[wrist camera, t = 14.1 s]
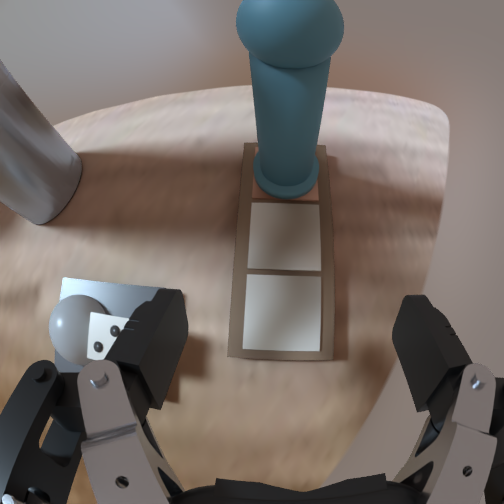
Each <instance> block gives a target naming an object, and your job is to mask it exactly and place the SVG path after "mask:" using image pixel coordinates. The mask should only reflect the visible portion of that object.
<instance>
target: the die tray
mask: <svg viewBox="0 0 504 504" xmlns="http://www.w3.org/2000/svg"><path fill="white" fill-rule="evenodd" d="M158 289H160V287H148V286H137V285H126V284H116V283H107V282H98V281H89V280H80V279H72V278H64V277H63V282H62V288H61V295H60V302H59V303H58V304H57V305H56V306H55V308H54V310H53V311H52V314H51V316H50V321H49V333H50V337H51V340H52V343H53V345H54V347H55V366H56V368H57V369H58V371H59V372H80V371H81V370H82V368H83V367H84V366H86V365H87V364H88V363H90V362H93V361H96V360H103V359H104V358H105V356H106V355H107V353H108V351H109V350H110V348H111V346H112V345H113V343H114V342H115V340H116V338H117V337H118V335H119V334H120V332H121V330H122V329H124V326H125V324H126V322H127V321H129V318H130V316H131V315H132V313H133V312H134V310H135V309H136V308H137V307H138V306H140V305H141V304H142V303H144V302H145V301H151V300H152V299H153V297H154V296H155V294H156V292H157V291H158ZM165 289H166V288H165Z"/></svg>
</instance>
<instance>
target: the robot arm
mask: <svg viewBox="0 0 504 504" xmlns="http://www.w3.org/2000/svg"><path fill="white" fill-rule="evenodd" d="M81 171H82V164H81V160H80V157H79V156H78V155H77V154H76V153H75V152H74V151H73V149H72V148H71V147H70V146H69V145H68V144H67V143H66V141H65V140H64V139H63V138H62V137H61V135H60V134H59V133H58V132H57V131H56V130H55V128H54V127H53V126H52V125H51V124H50V123H49V121H48V120H47V119H46V118H45V117H44V115H43V114H42V113H41V112H40V111H39V109H38V108H37V107H36V106H35V105H34V103H33V102H32V101H31V99H30V98H29V97H28V96H27V95H26V93H25V92H24V91H23V89H22V88H21V87H20V85H19V84H18V83H17V81H15V79H14V78H13V76H12V75H11V73H10V72H9V71H8V70H7V68H6V67H5V66H4V64H3V63H2V61H1V60H0V202H2V203H3V204H5V205H6V206H8V207H9V208H10V209H12V210H13V211H15V212H16V213H18V214H19V215H21V216H22V217H24V218H25V219H27V220H29V221H30V222H32V223H34V224H43V223H46V222H48V221H50V220H51V219H53V218H54V217H55V216H56V215H57V214H59V213H60V211H61V210H62V209H63V208H64V207H65V206H66V204H67V203H68V202H69V200H70V199H71V197H72V195H73V193H74V192H75V190H76V188H77V185H78V183H79V180H80V176H81ZM187 336H188V320H187V315H186V310H185V305H184V299H183V294H182V292H181V290H178V289H165V288H160V289H158V291H157V292H156V294H155V296H154V297H153V299H152V300H151V301H145V302H144V303H142V304H141V305H140V306H138V307H137V308H136V309H135V310H134V312H133V313H132V315H131V316H130V318H129V321H127V322H126V324H125V326H124V329H122V330H121V332H120V334H119V335H118V337H117V338H116V340H115V342H114V343H113V345H112V346H111V348H110V350H109V351H108V353H107V355H106V356H105V358H104V359H103V360H96V361H93V362H90V363H88V364H87V365H86V366H84V367H83V368H82V370H81V371H80V372H59V371H58V369H57V368H56V366H55V365H54V363H52V362H51V361H48V360H41V361H37V362H35V363H34V364H32V365H31V366H30V367H29V368H28V369H27V370H26V372H25V373H24V375H23V377H22V378H21V380H20V381H19V383H18V385H17V386H16V388H15V390H14V391H13V393H12V395H11V397H10V398H9V400H8V402H7V404H6V405H5V407H4V409H3V411H2V413H1V415H0V504H66V503H67V499H68V496H69V493H70V490H71V486H72V483H73V480H74V477H75V474H76V471H77V468H78V465H79V462H80V459H81V457H82V455H83V459H84V463H85V466H86V470H87V473H88V476H89V480H90V483H91V486H92V489H93V492H94V495H95V498H96V500H97V503H98V504H479V502H480V500H481V497H482V494H483V492H484V493H485V501H486V504H504V378H495V377H494V375H493V373H492V372H491V371H490V370H489V369H488V368H487V367H486V366H484V365H482V364H478V363H472V361H471V359H470V357H469V355H468V354H467V352H466V350H465V348H464V346H463V345H462V343H461V341H460V340H459V338H458V336H457V335H456V333H455V331H454V329H453V328H452V327H451V325H450V323H449V321H448V320H447V318H446V317H445V316H444V315H443V314H442V313H441V312H440V311H439V310H438V309H436V308H434V307H433V306H432V304H431V303H430V301H429V300H428V298H427V297H426V296H425V295H407V296H405V297H404V299H403V301H402V304H401V307H400V310H399V313H398V316H397V319H396V321H395V324H394V327H393V331H392V340H393V344H394V347H395V349H396V352H397V355H398V357H399V360H400V363H401V365H402V368H403V371H404V374H405V377H406V379H407V382H408V385H409V388H410V391H411V394H412V397H413V401H414V404H415V407H416V410H417V412H421V411H425V410H429V412H430V415H429V416H428V418H427V420H426V422H425V424H424V427H423V429H422V431H421V434H420V436H419V439H418V441H417V443H416V445H415V447H414V449H413V451H412V453H411V455H410V457H409V459H408V461H407V463H406V464H405V465H404V467H403V468H402V469H401V470H400V471H399V472H398V474H397V475H396V477H395V478H394V480H393V481H386V476H385V473H383V474H378V475H372V476H367V477H361V478H354V479H347V480H344V481H341V482H338V483H335V484H332V485H329V486H326V487H322V488H319V489H315V490H312V491H308V492H299V491H293V490H289V489H284V488H280V487H275V486H271V485H267V484H263V483H260V482H246V481H235V480H226V479H218V478H216V483H215V485H210V486H203V487H198V488H194V489H190V490H187V491H185V490H184V488H183V486H182V484H181V483H180V481H179V479H178V478H177V476H176V474H175V473H174V471H173V470H172V468H171V467H170V465H169V464H168V462H167V460H166V458H165V456H164V454H163V452H162V450H161V448H160V446H159V444H158V441H157V439H156V437H155V435H154V432H153V430H152V428H151V426H150V423H149V421H148V418H147V417H146V415H147V413H148V410H149V408H154V409H158V410H161V408H162V405H163V402H164V399H165V396H166V394H167V391H168V388H169V385H170V383H171V380H172V377H173V374H174V372H175V369H176V366H177V364H178V361H179V358H180V356H181V353H182V350H183V348H184V345H185V342H186V340H187ZM50 416H51V417H52V418H53V422H52V424H51V426H50V428H49V430H48V433H47V435H46V437H45V439H44V442H43V444H42V446H41V448H39V439H40V437H41V434H42V432H43V430H44V428H45V426H46V423H47V421H48V419H49V417H50Z"/></svg>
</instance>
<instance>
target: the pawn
mask: <svg viewBox="0 0 504 504" xmlns="http://www.w3.org/2000/svg"><path fill="white" fill-rule="evenodd" d="M236 27H237V32H238V35H239V38H240V40H241V41H242V43H243V45H244V46H245V48H247V50H248V51H249V59H250V68H251V78H252V87H253V97H254V107H255V117H256V128H257V138H258V149H259V151H258V152H257V154H256V156H255V158H254V161H253V170H254V177H255V180H256V183H257V185H258V186H259V187H260V188H261V189H262V191H264V192H265V193H266V194H268V195H270V196H272V197H275V198H278V199H285V200H287V199H296V198H299V197H302V196H304V195H306V194H307V193H308V192H310V191H311V190H312V188H313V187H314V186H315V184H316V181H317V177H318V173H319V162H318V159H317V157H316V155H315V152H316V146H317V141H318V135H319V130H320V124H321V118H322V112H323V106H324V100H325V94H326V87H327V80H328V74H329V67H330V60H331V57H330V56H332V54H333V53H334V52H335V51H336V50H337V48H338V47H339V45H340V43H341V41H342V38H343V34H344V22H343V17H342V14H341V12H340V9H339V7H338V6H337V4H336V3H335V1H334V0H243V1H242V3H241V5H240V6H239V9H238V12H237V17H236Z"/></svg>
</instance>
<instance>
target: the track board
mask: <svg viewBox="0 0 504 504" xmlns="http://www.w3.org/2000/svg"><path fill="white" fill-rule="evenodd" d="M258 151H259V149H258V143H244V152H243V163H242V173H241V184H240V195H239V207H238V218H237V230H236V242H235V255H234V268H233V281H232V294H231V309H230V323H229V338H228V354H227V357H237V358H251V359H272V360H333V351H334V318H335V277H334V243H333V224H332V208H331V195H330V184H329V173H328V164H327V155H326V146H325V145H317V146H316V152H315V155H316V157H317V159H318V162H319V173H318V177H317V181H316V184H315V186H314V187H313V188H312V190H311V191H310V192H308V193H307V194H306V195H304V196H302V197H299V198H296V199H287V200H285V199H278V198H275V197H272V196H270V195H268V194H266V193H265V192H264V191H262V189H261V188H260V187H259V186H258V185H257V183H256V180H255V177H254V170H253V161H254V158H255V156H256V154H257V152H258Z"/></svg>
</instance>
